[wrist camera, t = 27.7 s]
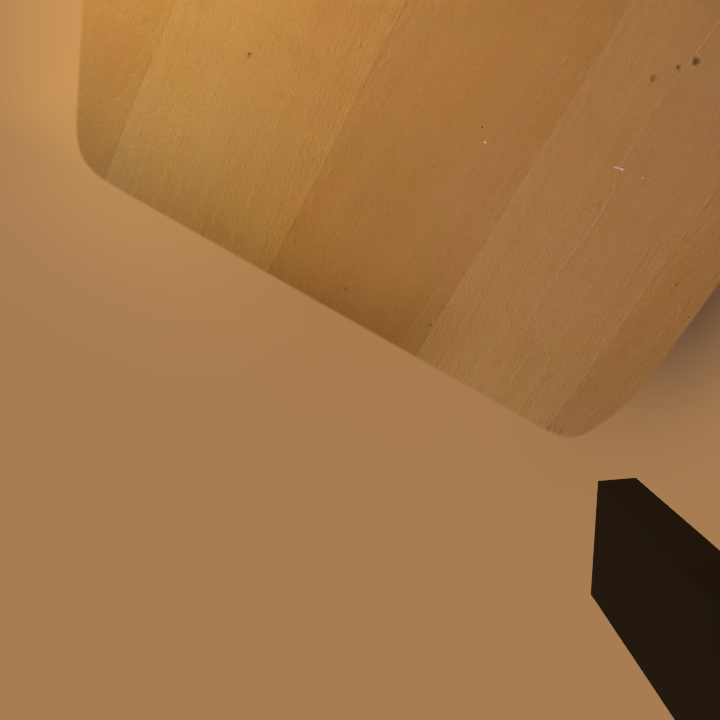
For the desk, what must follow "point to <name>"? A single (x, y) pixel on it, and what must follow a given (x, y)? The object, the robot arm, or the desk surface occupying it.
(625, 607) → the robot arm
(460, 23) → the desk surface
